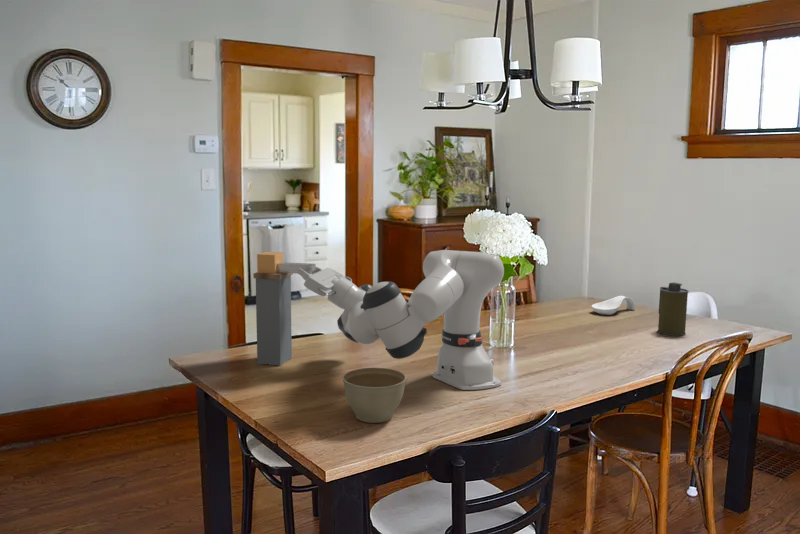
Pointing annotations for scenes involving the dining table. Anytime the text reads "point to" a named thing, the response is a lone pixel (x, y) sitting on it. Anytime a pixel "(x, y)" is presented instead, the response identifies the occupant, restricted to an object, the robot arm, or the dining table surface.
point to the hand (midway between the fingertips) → (303, 268)
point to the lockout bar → (280, 264)
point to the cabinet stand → (273, 317)
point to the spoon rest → (612, 305)
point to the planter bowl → (374, 393)
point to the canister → (672, 310)
